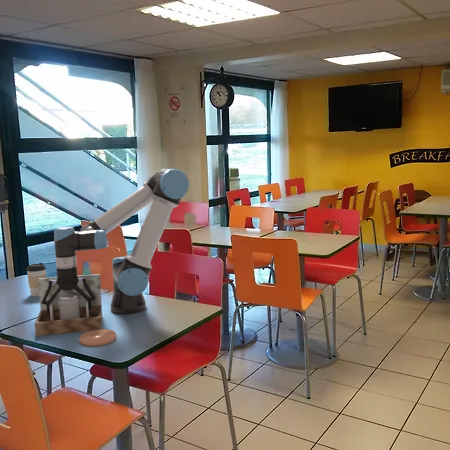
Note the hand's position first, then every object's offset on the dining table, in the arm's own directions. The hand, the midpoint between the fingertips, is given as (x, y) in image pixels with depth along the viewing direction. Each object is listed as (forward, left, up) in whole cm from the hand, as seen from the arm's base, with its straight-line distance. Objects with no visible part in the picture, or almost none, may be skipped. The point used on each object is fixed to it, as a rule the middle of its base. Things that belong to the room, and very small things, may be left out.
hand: (70, 319), depth 199 cm
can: (0, 0, -3) cm, 3 cm away
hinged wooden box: (0, 0, -3) cm, 3 cm away
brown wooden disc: (-11, +18, -3) cm, 21 cm away
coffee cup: (+19, -51, -3) cm, 55 cm away
